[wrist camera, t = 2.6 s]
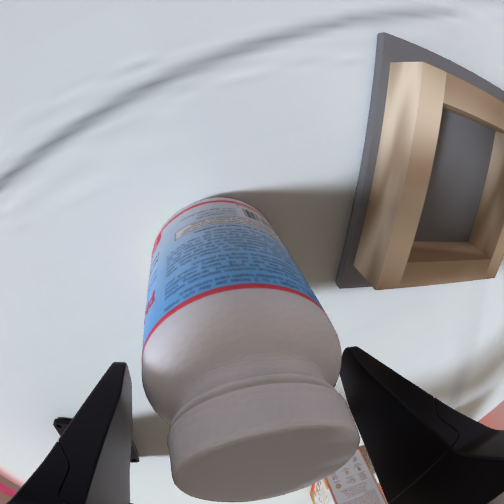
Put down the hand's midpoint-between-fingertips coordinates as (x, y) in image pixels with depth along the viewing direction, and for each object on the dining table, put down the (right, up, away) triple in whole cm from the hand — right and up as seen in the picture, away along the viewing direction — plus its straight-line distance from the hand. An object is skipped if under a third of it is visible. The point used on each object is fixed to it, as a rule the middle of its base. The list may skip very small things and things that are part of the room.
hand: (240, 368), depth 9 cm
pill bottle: (-2, +4, +7) cm, 8 cm away
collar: (+12, +8, +7) cm, 16 cm away
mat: (+12, +8, +7) cm, 16 cm away
